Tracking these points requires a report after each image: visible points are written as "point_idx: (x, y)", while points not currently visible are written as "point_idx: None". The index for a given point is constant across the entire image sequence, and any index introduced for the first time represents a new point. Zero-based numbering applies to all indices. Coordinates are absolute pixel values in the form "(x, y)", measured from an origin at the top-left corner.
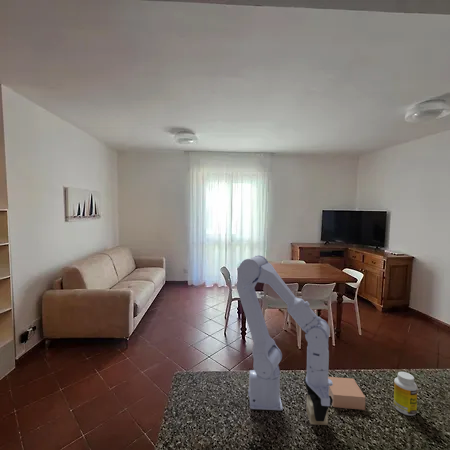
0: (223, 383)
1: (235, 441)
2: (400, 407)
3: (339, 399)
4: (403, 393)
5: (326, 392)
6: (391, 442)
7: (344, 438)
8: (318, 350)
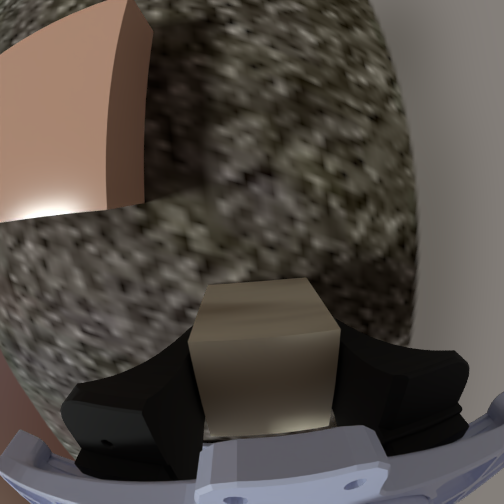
0: None
1: None
2: None
3: (120, 159)
4: None
5: (493, 459)
6: (363, 14)
7: (385, 212)
8: None
